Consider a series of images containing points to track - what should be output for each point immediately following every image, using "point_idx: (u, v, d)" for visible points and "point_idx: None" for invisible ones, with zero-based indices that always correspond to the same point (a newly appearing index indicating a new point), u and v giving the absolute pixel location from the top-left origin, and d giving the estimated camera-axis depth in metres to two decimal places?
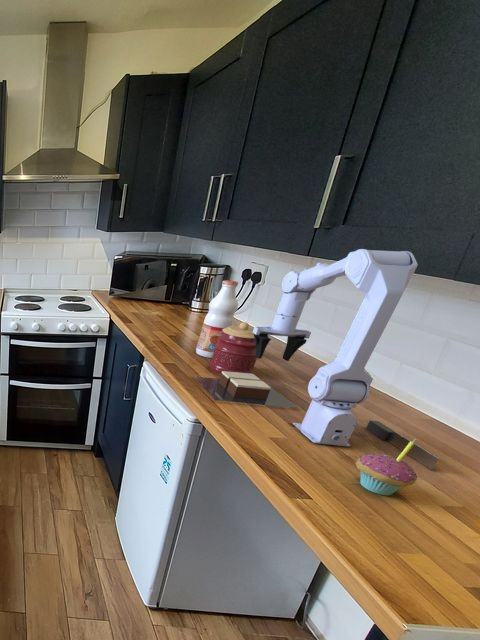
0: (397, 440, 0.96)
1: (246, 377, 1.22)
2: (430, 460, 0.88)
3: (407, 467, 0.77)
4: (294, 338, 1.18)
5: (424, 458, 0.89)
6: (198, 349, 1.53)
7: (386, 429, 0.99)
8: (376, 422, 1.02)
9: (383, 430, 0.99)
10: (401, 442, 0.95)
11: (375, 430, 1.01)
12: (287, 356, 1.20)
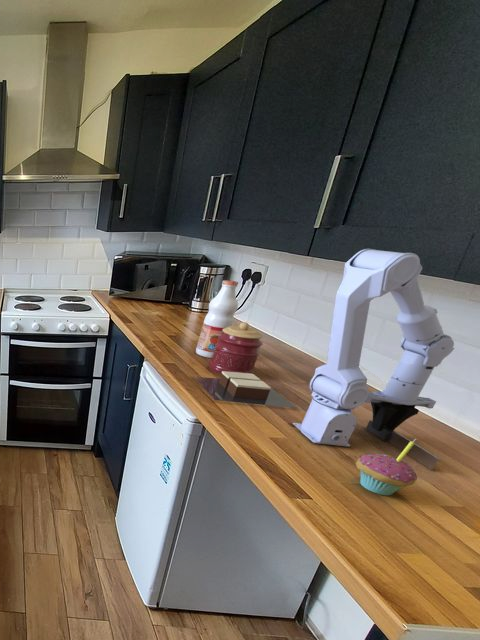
0: (397, 440, 0.96)
1: (246, 377, 1.22)
2: (430, 460, 0.88)
3: (407, 467, 0.77)
4: (401, 406, 0.97)
5: (424, 458, 0.89)
6: (198, 349, 1.53)
7: (386, 429, 0.99)
8: None
9: (383, 430, 0.99)
10: (401, 442, 0.95)
11: (375, 430, 1.01)
12: (391, 427, 0.99)
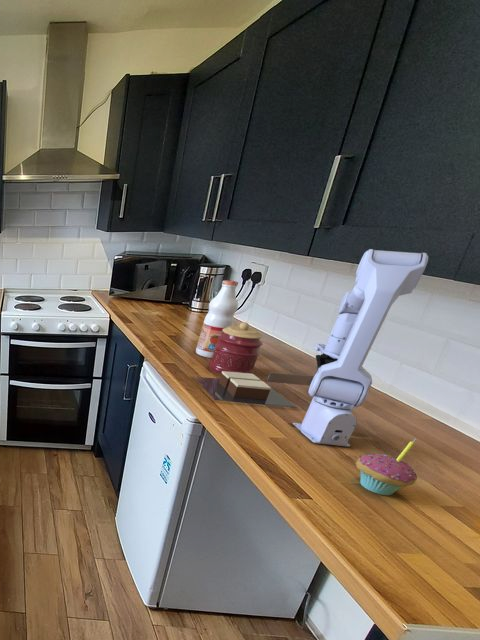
0: None
1: (246, 377, 1.22)
2: None
3: (407, 467, 0.77)
4: None
5: None
6: (198, 349, 1.53)
7: None
8: None
9: None
10: None
11: None
12: None
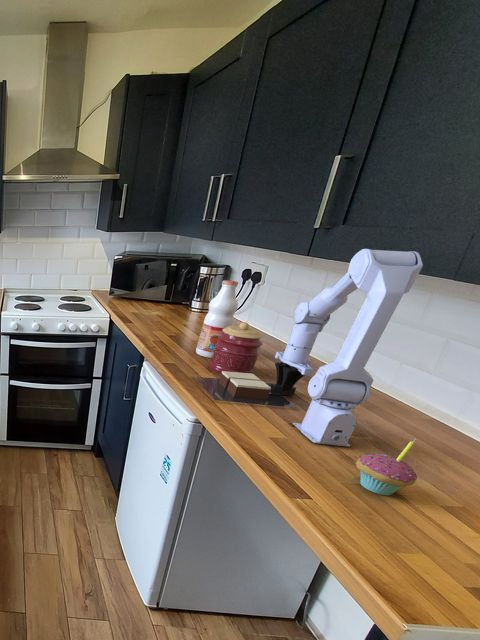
0: None
1: (246, 377, 1.22)
2: None
3: (407, 467, 0.77)
4: None
5: None
6: (198, 349, 1.53)
7: (277, 384, 1.20)
8: None
9: None
10: None
11: None
12: None
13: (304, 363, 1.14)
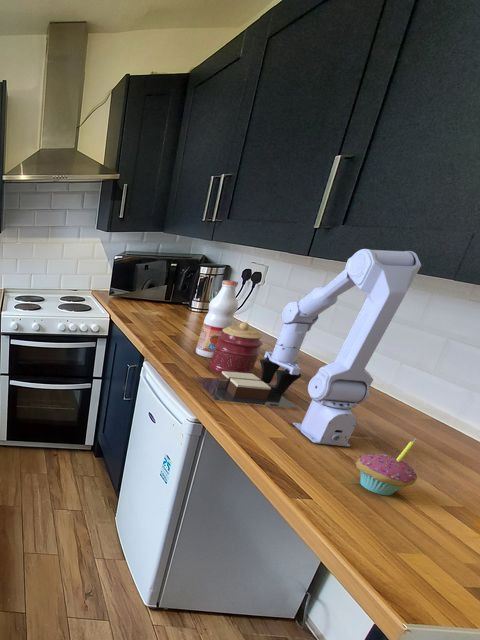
0: None
1: (246, 377, 1.22)
2: None
3: (407, 467, 0.77)
4: None
5: None
6: (198, 349, 1.53)
7: None
8: None
9: None
10: None
11: None
12: None
13: (292, 363, 1.14)
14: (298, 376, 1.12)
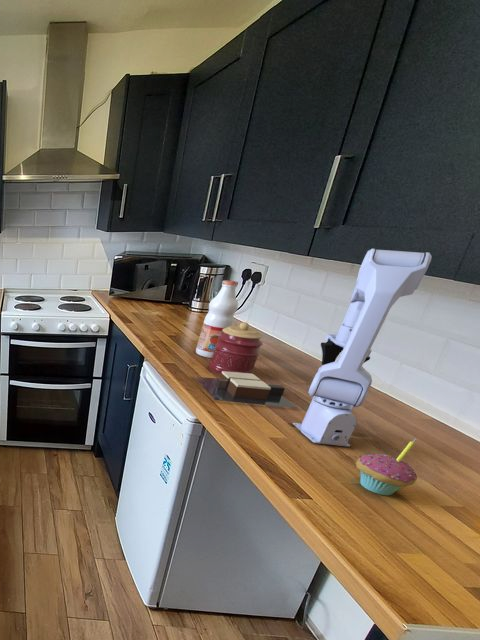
0: None
1: (246, 377, 1.22)
2: None
3: (407, 467, 0.77)
4: None
5: None
6: (198, 349, 1.53)
7: None
8: (279, 386, 1.20)
9: None
10: None
11: None
12: None
13: None
14: (367, 358, 1.07)
